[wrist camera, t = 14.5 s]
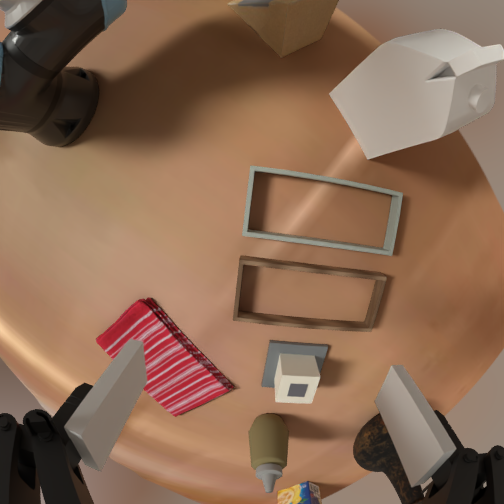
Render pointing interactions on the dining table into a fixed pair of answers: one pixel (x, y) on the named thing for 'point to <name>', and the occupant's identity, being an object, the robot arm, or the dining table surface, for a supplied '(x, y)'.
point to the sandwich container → (286, 21)
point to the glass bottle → (384, 459)
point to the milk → (417, 90)
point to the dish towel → (166, 358)
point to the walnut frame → (310, 322)
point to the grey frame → (385, 250)
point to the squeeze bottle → (268, 448)
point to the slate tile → (290, 348)
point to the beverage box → (300, 494)
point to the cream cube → (296, 378)
